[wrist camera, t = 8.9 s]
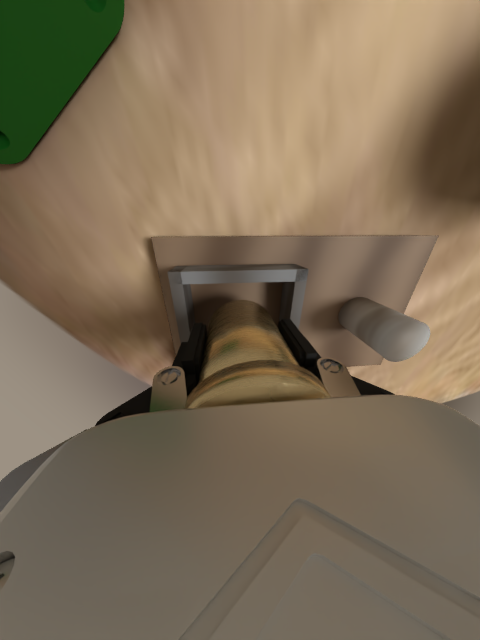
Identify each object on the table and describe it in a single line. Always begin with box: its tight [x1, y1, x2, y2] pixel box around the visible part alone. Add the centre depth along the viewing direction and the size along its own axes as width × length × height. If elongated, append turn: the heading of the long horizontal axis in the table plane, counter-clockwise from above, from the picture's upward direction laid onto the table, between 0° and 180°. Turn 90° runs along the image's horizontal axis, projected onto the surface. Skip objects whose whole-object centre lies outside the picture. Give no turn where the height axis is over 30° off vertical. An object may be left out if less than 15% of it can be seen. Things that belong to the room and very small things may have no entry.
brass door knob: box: [185, 300, 331, 409], centre depth 10 cm, size 6×6×8 cm
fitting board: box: [151, 236, 438, 367], centre depth 14 cm, size 22×13×6 cm, turn 90°
